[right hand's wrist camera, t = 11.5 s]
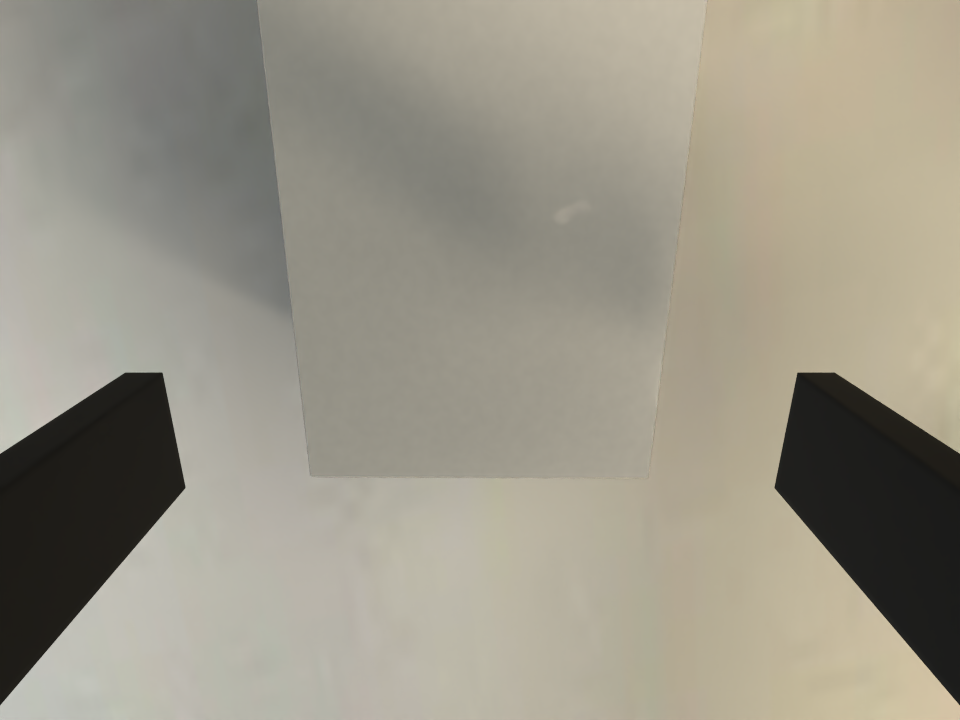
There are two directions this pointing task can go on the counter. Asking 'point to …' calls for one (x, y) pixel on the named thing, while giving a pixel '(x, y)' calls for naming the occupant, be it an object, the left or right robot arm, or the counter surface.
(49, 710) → the counter surface
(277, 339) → the counter surface
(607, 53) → the cabinet
